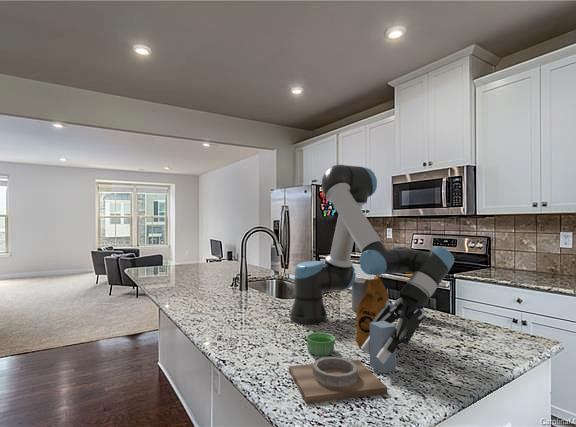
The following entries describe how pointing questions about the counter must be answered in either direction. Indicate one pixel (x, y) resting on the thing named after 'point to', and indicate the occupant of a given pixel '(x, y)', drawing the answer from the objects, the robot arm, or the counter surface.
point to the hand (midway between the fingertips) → (372, 355)
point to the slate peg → (381, 345)
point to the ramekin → (320, 343)
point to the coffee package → (370, 308)
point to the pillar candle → (358, 292)
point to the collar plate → (334, 392)
